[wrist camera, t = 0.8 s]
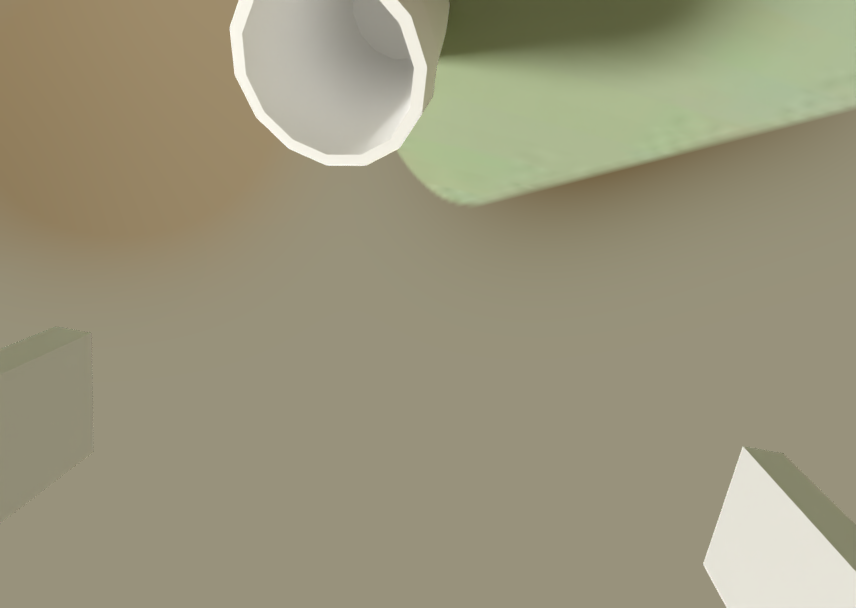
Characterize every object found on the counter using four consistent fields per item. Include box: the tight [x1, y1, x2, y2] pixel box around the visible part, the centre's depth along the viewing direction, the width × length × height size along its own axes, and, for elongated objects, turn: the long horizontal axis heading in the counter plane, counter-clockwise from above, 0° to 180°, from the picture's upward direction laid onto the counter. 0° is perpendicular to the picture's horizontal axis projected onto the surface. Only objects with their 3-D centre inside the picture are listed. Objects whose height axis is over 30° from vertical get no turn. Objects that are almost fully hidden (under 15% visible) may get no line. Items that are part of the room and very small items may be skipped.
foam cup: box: [230, 0, 450, 166], centre depth 30 cm, size 10×9×13 cm
